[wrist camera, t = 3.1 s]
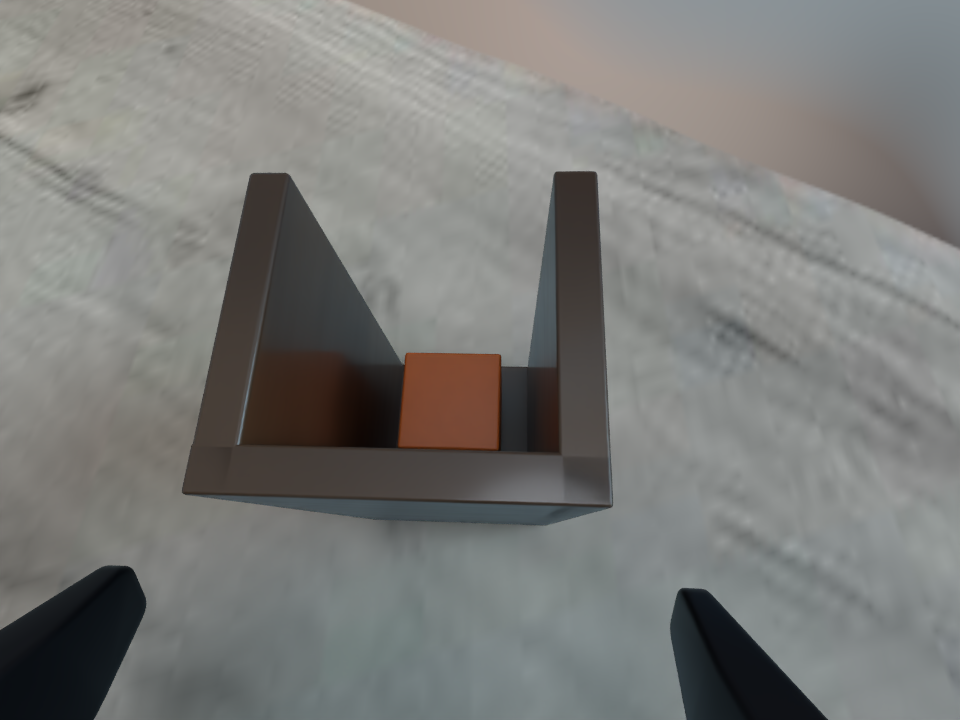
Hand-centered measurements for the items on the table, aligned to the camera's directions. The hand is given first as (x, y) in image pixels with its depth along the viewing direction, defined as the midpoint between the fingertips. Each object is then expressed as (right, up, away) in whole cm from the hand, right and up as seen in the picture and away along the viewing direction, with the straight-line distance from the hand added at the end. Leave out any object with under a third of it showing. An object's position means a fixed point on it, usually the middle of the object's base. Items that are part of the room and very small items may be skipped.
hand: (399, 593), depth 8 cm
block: (+1, +1, +11) cm, 12 cm away
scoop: (+1, +1, +12) cm, 12 cm away
